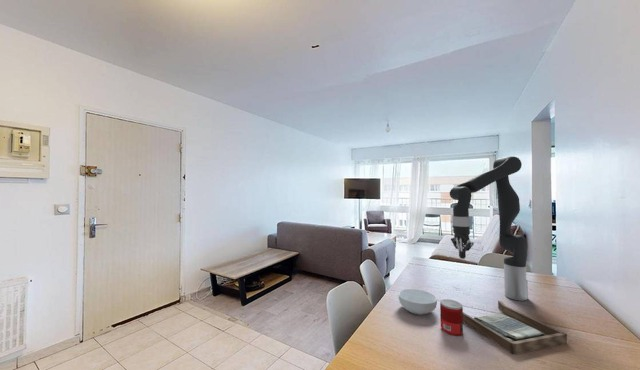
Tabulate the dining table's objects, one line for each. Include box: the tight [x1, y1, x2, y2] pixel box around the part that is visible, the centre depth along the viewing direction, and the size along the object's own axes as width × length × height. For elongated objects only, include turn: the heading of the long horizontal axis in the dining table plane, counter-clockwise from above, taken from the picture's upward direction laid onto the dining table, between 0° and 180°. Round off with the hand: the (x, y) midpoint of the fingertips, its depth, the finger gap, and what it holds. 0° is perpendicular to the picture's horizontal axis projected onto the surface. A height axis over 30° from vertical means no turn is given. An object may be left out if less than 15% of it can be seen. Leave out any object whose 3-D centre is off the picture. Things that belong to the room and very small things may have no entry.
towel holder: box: [463, 300, 568, 355], centre depth 100 cm, size 30×28×4 cm
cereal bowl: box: [398, 288, 438, 316], centre depth 114 cm, size 17×17×7 cm
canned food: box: [439, 299, 464, 337], centre depth 98 cm, size 8×8×11 cm
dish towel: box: [473, 312, 546, 342], centre depth 99 cm, size 19×18×3 cm
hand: (462, 258), depth 125 cm, fingers closed
